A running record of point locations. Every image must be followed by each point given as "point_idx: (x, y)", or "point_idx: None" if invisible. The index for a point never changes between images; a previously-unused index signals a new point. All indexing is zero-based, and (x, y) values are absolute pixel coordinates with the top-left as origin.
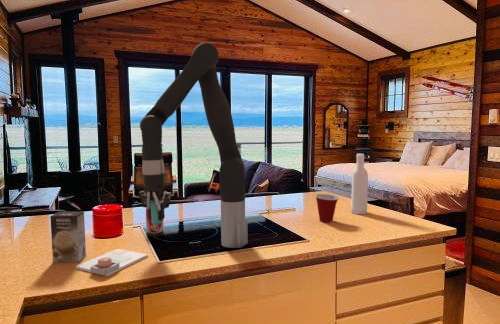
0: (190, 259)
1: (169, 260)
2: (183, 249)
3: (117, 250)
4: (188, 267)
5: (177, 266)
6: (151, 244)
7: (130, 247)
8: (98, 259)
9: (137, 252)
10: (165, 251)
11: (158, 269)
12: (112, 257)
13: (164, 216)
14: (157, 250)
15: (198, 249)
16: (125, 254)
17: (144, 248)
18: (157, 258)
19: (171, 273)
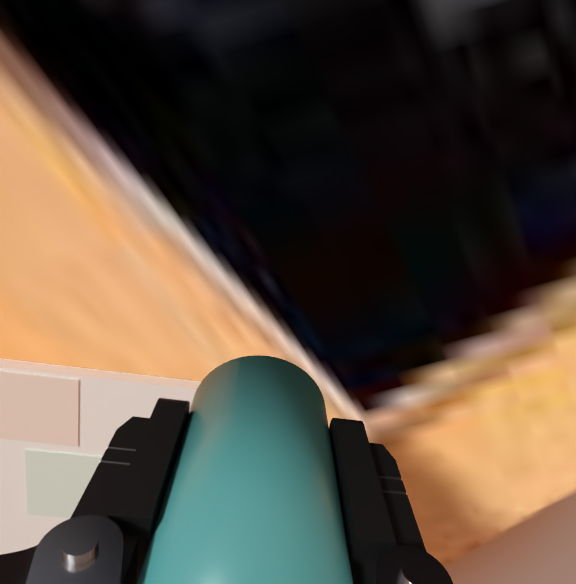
0: (546, 352)
1: (421, 399)
2: (437, 195)
3: (3, 397)
4: (565, 450)
5: (501, 455)
6: (117, 158)
7: (6, 271)
8: (22, 532)
9: (164, 385)
10: (320, 272)
11: (415, 509)
12: (78, 495)
13: (396, 467)
14: (251, 270)
15: (555, 162)
16: (113, 434)
17: (127, 260)
18: (332, 393)
19: (500, 526)
